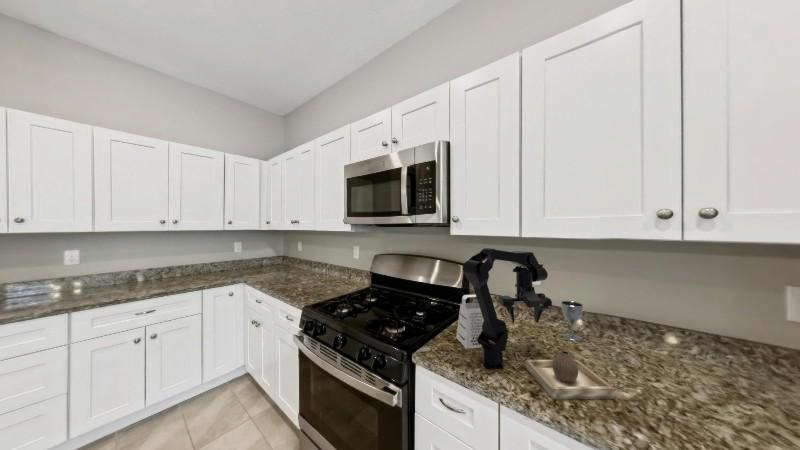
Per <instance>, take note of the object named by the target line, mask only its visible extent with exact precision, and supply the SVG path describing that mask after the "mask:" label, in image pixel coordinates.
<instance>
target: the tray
mask: <svg viewBox="0 0 800 450" xmlns="http://www.w3.org/2000/svg"><path fill="white" fill-rule="evenodd" d="M553 360H554V359H525V369H526V371H527V372H528V373H529V374H530V376H532V377H533V378H534V380H535V381H536V382H537V384H538V385H539V386H540V387H541V388H542V389H543V390H544V391H545V393H547V395H548V396H549V397H550V398H551V399H552V400H615V399H616V393H615V392H616V388H614V387H613V386H612V385H611V384H610V383H608V382H607V381H606V380H604V379H603V378H602V377H600V376H599V375H598V374H596V373H595V372H594V371H593V370H591V369H590V368H589V367H588V366H586V365H585V364H583V363H582V362H581V361H579V360H578V359H573V360H574V361H575V362H576V364H577V367H578V377H577V379H576V380H575V381H574V382H572V383H565V382H562V381H560V380H559V379H558V378H557V377H556V375H555V374H554V371H553Z"/></svg>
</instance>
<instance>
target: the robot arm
mask: <svg viewBox="0 0 800 450" xmlns="http://www.w3.org/2000/svg"><path fill="white" fill-rule="evenodd" d="M496 260H498V261H505V262H509V263H511V264H513V265H516V266H515V268H513V269H512V272H513V273H515V274H516V275H515V276H516V277H515V278H516V281H515V284H514V287H515V288H516V293H514V297H511V296H509V295H499V296H498V298H497V299H498V303H499V304H500V305H501V306H502V307H504V308H505V309H506V311H507V313H508V316H509V318H510V320H511V323H512V324H515V306H514V305H515V304H524V305H525V306H526V307H527V308H533V310H534V311H533V312H534V313H533V314H534V322H535V324H538V323H539V320H540V318H541V315H542V313H543V312H544V311H545V310H546V309H549V307H553V301H552V299H551V298H550V297H548V296H547V295H546V294H545V293H540V292H539V293H536V291H535V287H534V286H533V283H535V282H542V281H545V280H547V278H548V276H549V274H548V271H547V270H546V268H545V267H544V265H543V264H542V263H540V262H539V261H538V260H537V258H536V256H535V254H534V252H533V251H524V250H523V251H522V250H514V251H513V250H512V251H506V250H500V249H495V248H489V247H484V248H482V249H481V250H480V251H479V252H478V253H475V255H473V256H471V257H470V258H469V259H468V260H466V261H465V262H464V263H463V265H462V272H463V275H464V277H465V278H466V280H467V281H468V282H469V283H470V284H471V286H472V288H473V291H474V295H475V294H476V297H475V298H476V300H477V304H478V303H479V307H480V310H481V313H482V316H483V319H484V321H483V324H482V332H480V335H479V337H478V338H477V337H476V339H477V340H476V342H478V345H480V344H481V345H482V347H481V357H480V358H479V359H480V360H479V361H480V362H481V363H482V365H483V367H484V368H485V370H486V369H487V370H488V369H491V370H492V369H494V370H495V369H497V370H498V369H500V370H501V369H504V368H505V367H504V365H503V364H504V353H503V352H505V351H506V349H507V344H508V338H509V335H508V334H509V330H508V328H507V324H506V321H504V320H502V319H499V318H498V315H497V311H496V309H495V306H494V305H495V304H494V302H493V299H492V296H491V295H492V294H491V292H490V289H489V286H488V282H489V278H490V274H489V272H490V271H491V270H492V269H493V267H494V262H496Z"/></svg>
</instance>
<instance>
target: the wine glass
mask: <svg viewBox="0 0 800 450" xmlns="http://www.w3.org/2000/svg"><path fill="white" fill-rule="evenodd" d="M583 307H584V305H583V304H582V303H580V302H576V301H573V300H563V301H561V311H562V312H561V313H562V315H563V317H564V318H565V319H566V320H567V321H568V322H569V324H570V333H563V334H562V336H563V337H564V338H565V339H567V340H570V341H582V340H583V337H581V336H580V335H577V334H574V326H575V323H577V322H578V321H579V320H580V319H581V318H582V316H583V311H584V309H583Z"/></svg>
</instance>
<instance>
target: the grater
mask: <svg viewBox="0 0 800 450" xmlns="http://www.w3.org/2000/svg"><path fill="white" fill-rule="evenodd" d="M468 298H477V297H476V294H475V293H474V294H464V295H463V296H462V298H461V303H460V306H459V314H458V320H457V329H456V330H457V331H456V337H455V338H456V339H457V340H458V342H459V343H460V342H461V343H460V344H461V345H462V346H463V347H464V348H465V349H466V350H467V349H476V348H478V349H479V348H482V345H481V344H478V341H477V338H478V337H479V335H480V333H481V332H482V324H483V321H484V319H483V316H482V313H481V310H480V307H479V303H478V302H467V303H466V300H467V299H468Z"/></svg>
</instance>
